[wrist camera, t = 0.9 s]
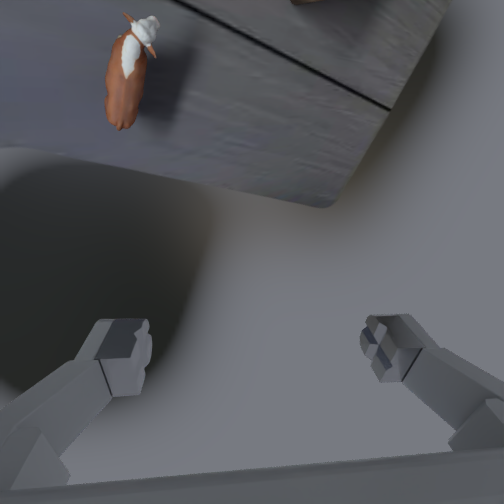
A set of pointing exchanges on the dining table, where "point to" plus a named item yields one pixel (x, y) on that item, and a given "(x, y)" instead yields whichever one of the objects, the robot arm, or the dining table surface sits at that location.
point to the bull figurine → (128, 71)
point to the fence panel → (303, 1)
